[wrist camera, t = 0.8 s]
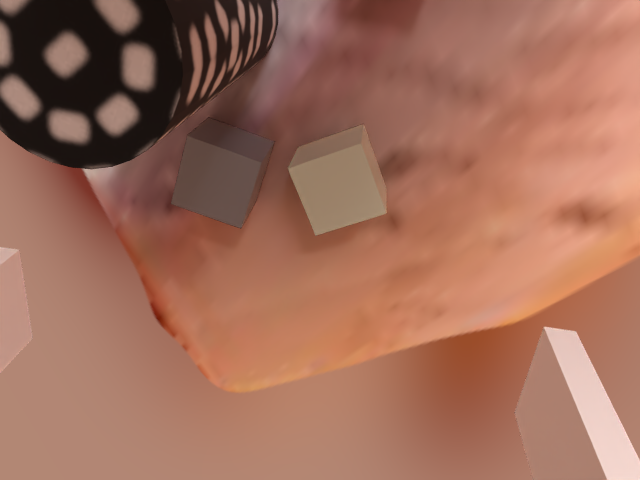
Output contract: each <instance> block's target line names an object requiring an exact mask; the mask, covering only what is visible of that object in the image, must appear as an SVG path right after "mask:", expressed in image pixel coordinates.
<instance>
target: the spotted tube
mask: <svg viewBox="0 0 640 480" xmlns="http://www.w3.org/2000/svg"><path fill="white" fill-rule="evenodd" d="M277 25H278V5H277V0H0V130H1V131H2V132H3V133H4V134H5V135H7V137H8V138H10V139H11V140H12V141H14V142H15V143H17V144H18V145H20V146H21V147H23V148H24V149H26V150H27V151H29V152H30V153H33V154H35V155H37V156H39V157H41V158H43V159H45V160H48V161H50V162H53V163H57V164H61V165H64V166H68V167H73V168H85V169H97V168H105V167H113V166H115V165H118V164H121V163H124V162H127V161H130V160H132V159H134V158H135V157H137V156H138V155H140V154H142V153H143V152H145V151H147V150H148V149H149V148H150V147H152V146H153V145H154V144H156V143H157V142H158V141H159V140H161V139H162V138H163V137H164V136H166V135H167V134H168V133H170V132H171V131H172V130H173V129H175V128H176V127H177V126H179V125H180V124H181V123H182V122H184V121H185V120H186V119H187V118H189V117H190V116H191V115H193V114H194V113H195V112H196V111H198V110H199V109H200V108H201V107H203V106H204V105H205V104H207V103H208V102H209V101H210V100H212V99H213V98H214V97H215V96H217V95H218V94H219V93H221V92H222V91H223V90H224V89H226V88H227V87H228V86H230V85H231V84H232V83H233V82H235V81H236V80H237V79H238V78H240V77H241V76H242V75H244V74H245V73H246V72H247V71H249V70H250V69H251V68H252V67H254V66H255V65H256V64H257V63H258V62H259V61H260V60H261V59H262V58H263V57H264V56H265V54H266V53H267V52H268V50H269V49H270V47H271V45H272V42H273V40H274V38H275V35H276V30H277Z"/></svg>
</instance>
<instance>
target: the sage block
mask: <svg viewBox="0 0 640 480" xmlns="http://www.w3.org/2000/svg"><path fill="white" fill-rule="evenodd" d="M288 171H289V173H290V176H291V178H292V181H293V183H294V185H295V188H296V190H297V192H298V195H299V197H300V200H301V202H302V204H303V207H304V209H305V212H306V214H307V216H308V219H309V221H310V223H311V226H312V228H313V231H314V233H315V235H316V236H317V235H320V234H323V233H326V232H329V231H333V230H336V229H339V228H342V227H346V226H349V225H352V224H355V223H358V222H362V221H365V220H368V219H371V218H375V217H378V216H381V215H384V214H387V201H386V185H385V183H384V180H383V177H382V174H381V171H380V169H379V166H378V163H377V160H376V157H375V154H374V152H373V149H372V146H371V143H370V140H369V138H368V135H367V132H366V129H365V126H364V124H362V125H359V126H356V127H353V128H350V129H347V130H345V131H342V132H339V133H336V134H333V135H330V136H328V137H325V138H322V139H319V140H316V141H313V142H311V143H308V144H305V145H302V146H299V147H297V150H296V152H295V154H294V156H293V158H292V160H291V162H290V164H289V167H288Z"/></svg>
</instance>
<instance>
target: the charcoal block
mask: <svg viewBox="0 0 640 480" xmlns="http://www.w3.org/2000/svg"><path fill="white" fill-rule="evenodd" d="M274 142H275V141H272V140H270V139H267V138H264V137H261V136H258V135H256V134H253V133H250V132H247V131H245V130H242V129H239V128H236V127H234V126H231V125H228V124H225V123H222V122H220V121H217V120H214V119H211V118H209V117H208V118H207V119H206V120H205V121H204V122H203V123H201V124H200V125H199V126H198V127H197V128H196V129H195V130H193V131H192V132H191V133H190V134H189V135H188V136H187V139H186V143H185V147H184V151H183V155H182V160H181V164H180V168H179V172H178V176H177V180H176V185H175V189H174V193H173V197H172V201H171V204H172V205H175V206H178V207H181V208H184V209H187V210H189V211H192V212H195V213H198V214H201V215H204V216H206V217H209V218H212V219H215V220H218V221H221V222H223V223H226V224H229V225H232V226H235V227H238V228H242V226H243V224H244V223H245V221H246V219H247V217H248V215H249V213H250V212H251V210H252V208H253V206H254V204H255V202H256V200H257V196H258V193H259V190H260V187H261V184H262V181H263V177H264V174H265V171H266V168H267V165H268V161H269V158H270V155H271V152H272V149H273V146H274Z"/></svg>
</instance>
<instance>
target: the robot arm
mask: <svg viewBox="0 0 640 480" xmlns="http://www.w3.org/2000/svg"><path fill="white" fill-rule="evenodd" d="M31 339H32V331H31V324H30V318H29V311H28V304H27V297H26V291H25V285H24V277H23V271H22V264H21V257H20V250H18V249H10V248H4V247H0V373H1V372H2V371H3V370H4V368H5V367H6V366H7V365H8V364H9V363H10V362H11V361H12V360H13V359H14V358H15V356H17V354H18V353H19V352H20V351H21V350H22V349H23V348H24V347H25V346H26V345H27V344H28V342H30V340H31ZM515 416H516V420H517V423H518V427H519V431H520V435H521V438H522V441H523V445H524V449H525V453H526V457H527V460H528V464H529V467H530V471H531V475H532V478H533V480H640V460H639V458H638V456H637V454H636V452H635V450H634V448H633V446H632V444H631V442H630V440H629V438H628V436H627V434H626V432H625V430H624V428H623V426H622V424H621V422H620V420H619V418H618V416H617V414H616V412H615V410H614V408H613V406H612V404H611V402H610V400H609V398H608V395H607V393H606V391H605V389H604V387H603V386H602V383H601V381H600V380H599V377H598V375H597V373H596V371H595V369H594V367H593V366H592V363H591V361H590V359H589V357H588V355H587V353H586V351H585V349H584V347H583V345H582V343H581V341H580V339H579V337H578V335H577V333H576V331H569V330H562V329H556V328H549V327H544V328H543V331H542V333H541V336H540V339H539V342H538V345H537V348H536V351H535V354H534V357H533V360H532V363H531V366H530V369H529V372H528V374H527V378H526V381H525V383H524V386H523V389H522V392H521V395H520V398H519V401H518V404H517V407H516V410H515Z"/></svg>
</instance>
